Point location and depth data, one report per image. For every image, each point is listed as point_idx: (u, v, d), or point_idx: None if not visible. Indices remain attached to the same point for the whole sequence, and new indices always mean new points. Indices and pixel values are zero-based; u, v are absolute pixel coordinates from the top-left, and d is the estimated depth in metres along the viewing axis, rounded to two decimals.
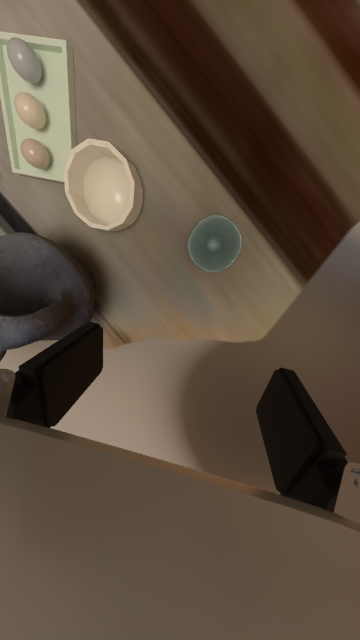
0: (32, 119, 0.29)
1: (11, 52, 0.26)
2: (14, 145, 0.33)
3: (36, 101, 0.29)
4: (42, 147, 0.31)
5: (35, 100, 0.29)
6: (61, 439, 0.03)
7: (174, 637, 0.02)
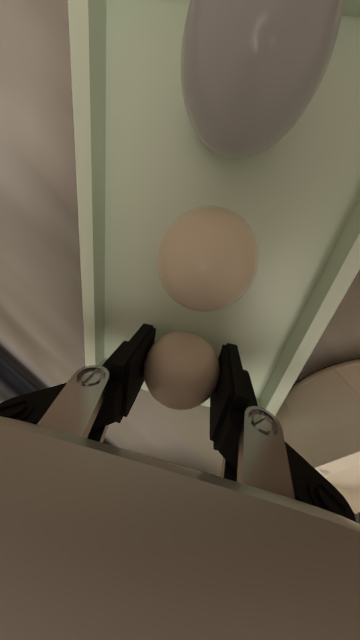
0: (224, 306, 0.07)
1: (253, 0, 0.04)
2: (100, 317, 0.11)
3: None
4: (217, 363, 0.09)
5: (255, 239, 0.06)
6: (62, 438, 0.03)
7: (174, 637, 0.02)
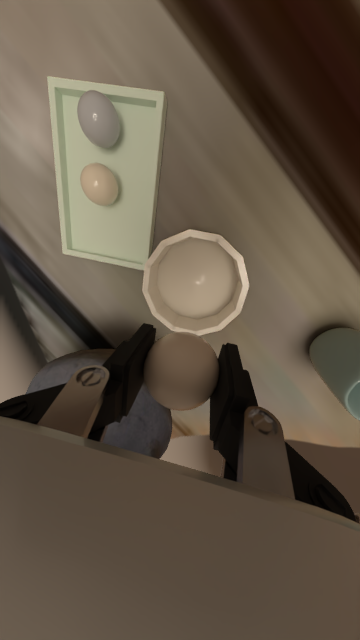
0: (103, 198, 0.21)
1: (85, 112, 0.17)
2: (67, 221, 0.25)
3: (111, 174, 0.20)
4: (217, 364, 0.09)
5: (110, 173, 0.20)
6: (62, 438, 0.03)
7: (174, 637, 0.02)
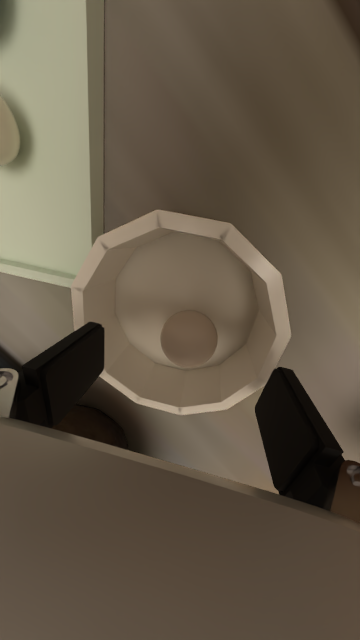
0: None
1: None
2: None
3: None
4: (215, 332, 0.12)
5: None
6: (62, 438, 0.03)
7: (174, 637, 0.02)
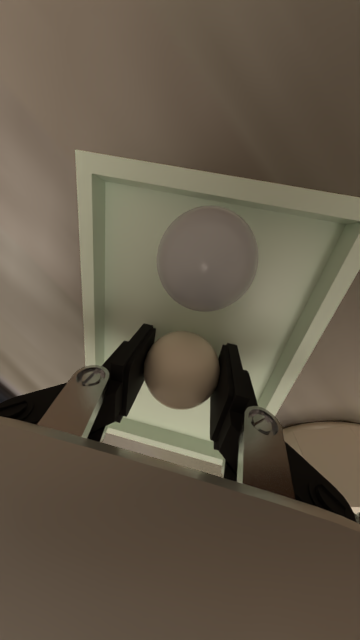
0: None
1: (194, 277, 0.06)
2: None
3: (216, 362, 0.09)
4: None
5: (215, 363, 0.09)
6: (61, 439, 0.03)
7: (174, 637, 0.02)
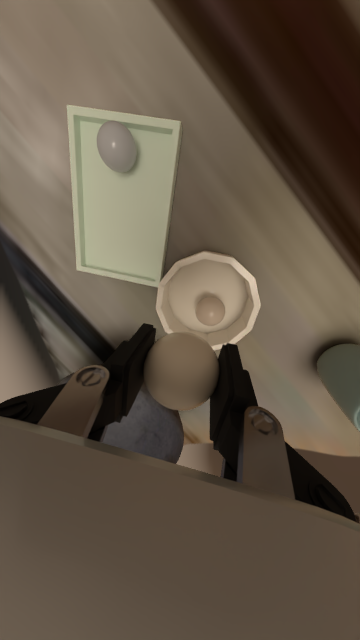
0: None
1: (105, 142, 0.18)
2: (82, 239, 0.25)
3: (216, 363, 0.09)
4: (224, 307, 0.24)
5: (215, 364, 0.09)
6: (61, 439, 0.03)
7: (174, 637, 0.02)
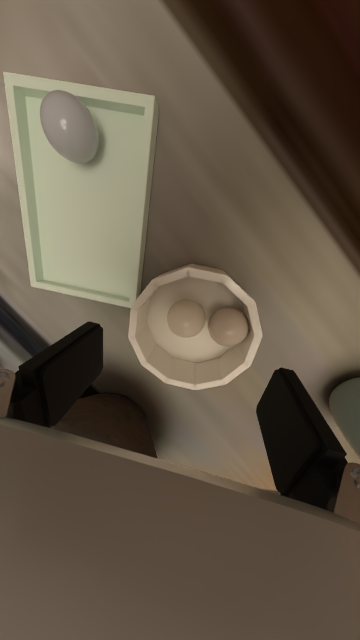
0: (185, 328, 0.17)
1: (49, 118, 0.13)
2: (36, 248, 0.20)
3: (201, 309, 0.18)
4: None
5: (200, 308, 0.18)
6: (62, 438, 0.03)
7: (174, 637, 0.02)
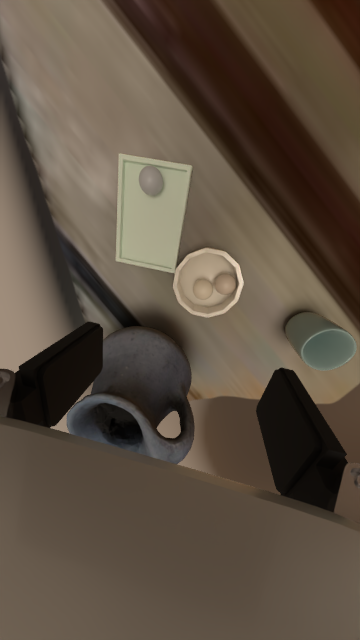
0: (203, 299, 0.36)
1: (145, 179, 0.29)
2: (121, 239, 0.36)
3: (210, 291, 0.35)
4: None
5: (210, 291, 0.35)
6: (61, 438, 0.03)
7: (174, 637, 0.02)
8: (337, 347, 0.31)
